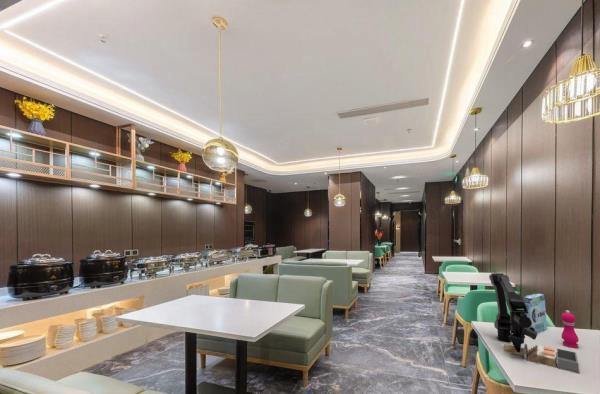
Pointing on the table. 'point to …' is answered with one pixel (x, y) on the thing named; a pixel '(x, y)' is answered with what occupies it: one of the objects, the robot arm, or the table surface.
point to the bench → (541, 356)
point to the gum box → (536, 311)
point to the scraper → (512, 349)
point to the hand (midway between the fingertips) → (518, 351)
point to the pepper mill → (569, 330)
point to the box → (567, 360)
